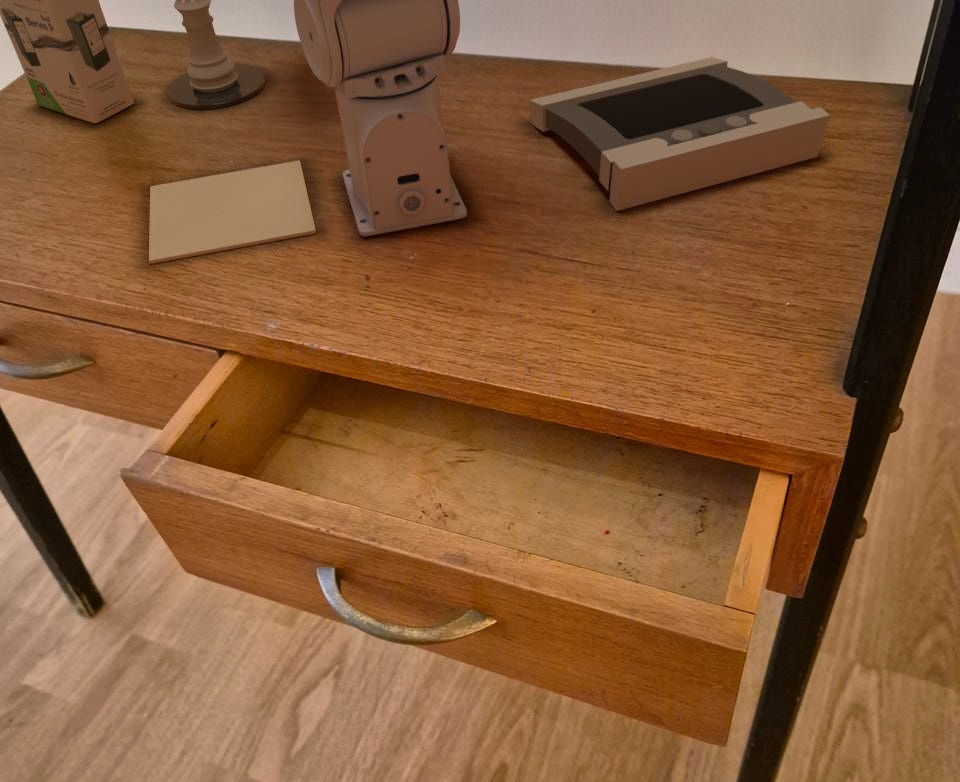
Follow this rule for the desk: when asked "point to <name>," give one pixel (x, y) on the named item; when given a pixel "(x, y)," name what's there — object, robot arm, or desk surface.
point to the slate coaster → (243, 89)
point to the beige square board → (228, 211)
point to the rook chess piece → (205, 49)
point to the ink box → (68, 56)
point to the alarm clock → (681, 129)
